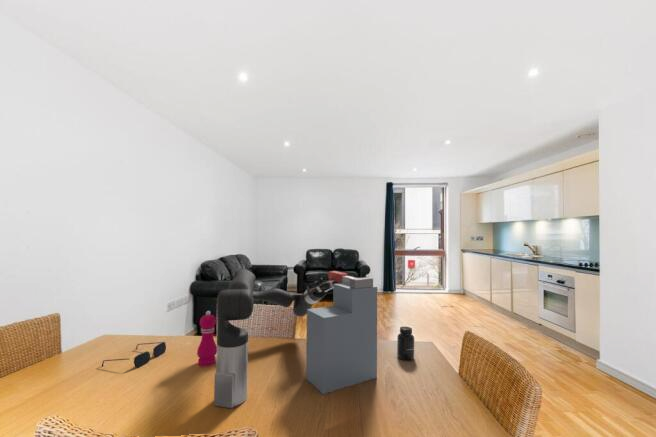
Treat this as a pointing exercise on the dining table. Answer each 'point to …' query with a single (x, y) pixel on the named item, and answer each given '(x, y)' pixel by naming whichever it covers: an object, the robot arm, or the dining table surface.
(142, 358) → the sunglasses
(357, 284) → the grey red bar
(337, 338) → the stand
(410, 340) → the supplement bottle
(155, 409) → the dining table surface
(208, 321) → the pepper mill
